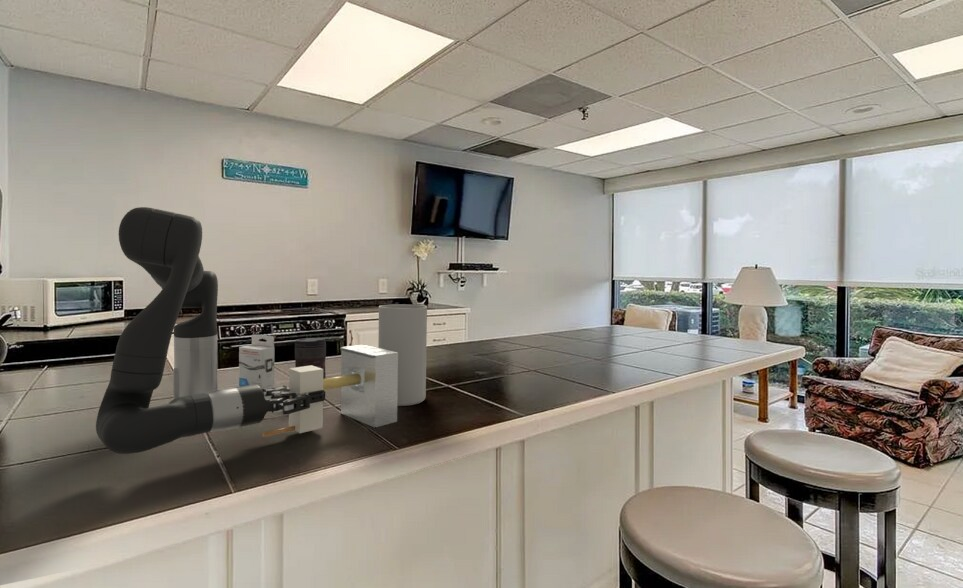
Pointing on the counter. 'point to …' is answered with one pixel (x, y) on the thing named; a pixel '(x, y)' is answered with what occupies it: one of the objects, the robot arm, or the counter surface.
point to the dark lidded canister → (310, 353)
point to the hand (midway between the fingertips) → (317, 392)
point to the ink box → (257, 362)
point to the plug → (309, 382)
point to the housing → (370, 384)
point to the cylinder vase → (406, 348)
